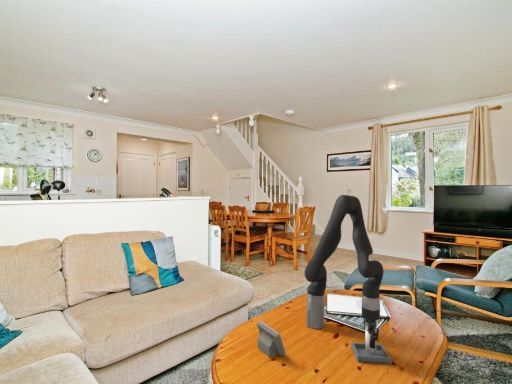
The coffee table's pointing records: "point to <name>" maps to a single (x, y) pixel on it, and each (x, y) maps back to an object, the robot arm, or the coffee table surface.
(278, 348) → the digital clock
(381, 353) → the tray
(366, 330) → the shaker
